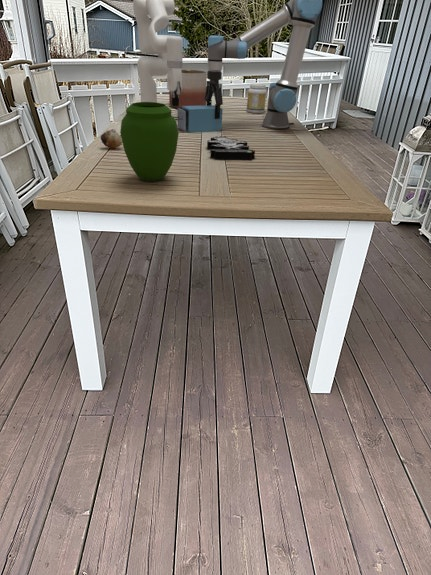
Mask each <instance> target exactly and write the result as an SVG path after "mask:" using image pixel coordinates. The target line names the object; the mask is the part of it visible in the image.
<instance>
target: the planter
mask: <svg viewBox="0 0 431 575" xmlns="http://www.w3.org/2000/svg"><path fill="white" fill-rule="evenodd" d="M181 71H182V91H180V94H179V106H172V95H171V91H170V90H168V92H169V93H168V95H169V96H168V97H169V98H168V99H169V100H168V103H169V106H170V107H171V108H174V109H177V108H180V109H182V106H205V105H206V103H207V102H206V100H205V93H206V86H207V81H208V80H207V72H208V71H204V70H197V69H181Z"/></svg>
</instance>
